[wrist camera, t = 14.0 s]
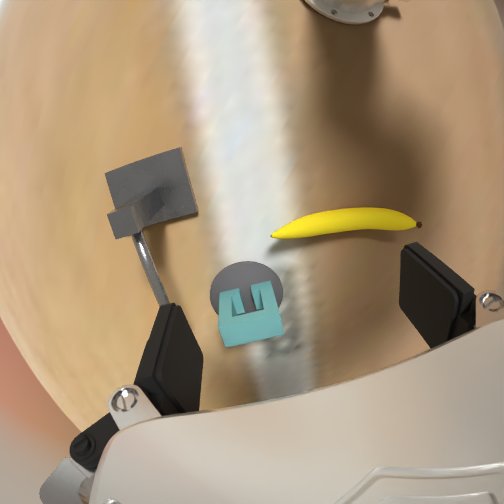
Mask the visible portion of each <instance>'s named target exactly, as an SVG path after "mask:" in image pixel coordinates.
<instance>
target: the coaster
mask: <svg viewBox="0 0 504 504" xmlns="http://www.w3.org/2000/svg"><path fill="white" fill-rule="evenodd" d="M266 281H271V285H272V288H273V291H274V295H275V298H276V302H277V305H278V308H279V306H280V304H281V302H282V298H283V288H282V284H281V282H280V279H279V278H278V276H277V275H276V273H275V272H274V271H273V270H271V269H270V268H269V267H267V266H265V265H263V264H260V263H257V262H249V261H247V262H238V263H235V264H232V265H230V266H228V267H226V268H224V269H223V270H222V271H221V272H220V273H219V274H218V275H217V276H216V277H215V279H214V281H213V283H212V285H211V290H210V300H211V304H212V306H213V308H214V310H215V312H216V313H217V314H218V315H219V298H220V292H225V291H229V290H233V289H237V288H239V290H240V293H241V296H242V300H243V303H244V306H245V313H241V314H237V316H238V315H243V314H247V313H251V312H256V311H260V310H264V308H262V309H258V310H257V309H256V305H255V302H254V298H253V295H252V291H251V285H254V284H258V283H262V282H266Z"/></svg>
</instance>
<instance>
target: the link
mask: <svg viewBox="0 0 504 504" xmlns="http://www.w3.org/2000/svg"><path fill="white" fill-rule="evenodd" d="M251 291H252V295H253V298H254V302H255V305H256V309H257V310H258V309H262V308H264V310H260V311H256V312H251V313H247V314H243V315H238V316H237V314H241V313H245V306H244V303H243V300H242V296H241V293H240V290H239V288H237V289H233V290H229V291H225V292H220V298H219V323H218V329H219V331H220V334H221V336H222V339H223V342H224V344H225V347H231V346H236V345H240V344H245V343H249V342H254V341H258V340H262V339H267V338H271V337H275V336H279V335H283V334H284V330H283V325H282V321H281V316H280V312H279V309H278V305H277V302H276V298H275V295H274V291H273V288H272V285H271V281H266V282H262V283H258V284H254V285H251Z"/></svg>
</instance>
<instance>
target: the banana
mask: <svg viewBox="0 0 504 504" xmlns="http://www.w3.org/2000/svg"><path fill="white" fill-rule="evenodd" d="M421 226H422V223H421V222H416V221H414V220H413V219H412V218H410V217H409V216H407V215H405V214H403V213H400V212H398V211H395V210H391V209H385V208H373V207H361V208H347V209H338V210H330V211H325V212H319V213H315V214H311V215H307V216H304V217H302V218H299V219H296V220H294V221H292V222H290V223H289V224H287V225H285V226H283V227H281V228H280V229H278V230H277V231H275V232H274V233H272V234H271V237H272V238H276V239H291V238H302V237H310V236H316V235H322V234H329V233H336V232H342V231H351V230H360V229H381V230H406V229H410V228H413V227H418V228H421Z"/></svg>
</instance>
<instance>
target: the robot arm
mask: <svg viewBox="0 0 504 504" xmlns="http://www.w3.org/2000/svg"><path fill="white" fill-rule="evenodd" d="M384 1H385V0H305V2H306V3H307V4H308V5H310V6H311V7H312V8H313V9H314V10H316V11H317V12H319V13H320V14H322V15H324V16H326V17H328V18H330V19H333V20H335V21H338V22H342V23H346V24H364V23H368V22H370V21H372V20H374V19H375V18H376V17H378V16H379V15H380V13H381V12H382V10H383V7H384ZM401 1H407V2H408V1H410V0H401ZM474 290H475V289H474V288H473V287H472V286H470V285H469V284H468V283H467V282H466V281H465V280H464V279H462V278H461V277H460V276H459V275H458V274H456V273H455V272H454V271H453V270H452V269H450V268H449V267H448V266H447V265H446V264H444V263H443V262H442V261H441V260H439V259H438V258H437V257H436V256H434V255H433V254H432V253H431V252H429V251H428V250H427V249H425V248H424V247H423V246H422V245H420V244H419V243H417V242H415V243H411V244H408V245H405V246H404V248H403V250H401V268H400V293H399V305H400V308H401V309H402V311H403V312H404V313H405V315H406V316H407V317H408V319H409V320H410V321H411V322H412V324H413V325H414V326H415V328H416V329H417V330H418V332H419V333H420V334H421V336H422V337H423V338H424V340H425V341H426V343H427V344H428V345H429V347H430V348H431V349H429V350H427V351H425V352H422V353H420V354H417V355H415V356H413V357H410V358H408V359H405V360H403V361H400V362H397V363H395V364H392V365H389V366H387V367H384V368H381V369H378V370H375V371H373V372H370V373H367V374H364V375H361V376H358V377H354V378H351V379H348V380H345V381H342V382H338V383H335V384H331V385H328V386H324V387H320V388H317V389H313V390H309V391H305V392H301V393H297V394H293V395H288V396H284V397H279V398H275V399H270V400H265V401H260V402H254V403H249V404H243V405H237V406H231V407H224V408H218V409H211V410H203V411H199V405H200V392H201V381H202V370H203V354H202V351H201V349H200V347H199V345H198V343H197V341H196V339H195V336H194V334H193V332H192V330H191V328H190V326H189V324H188V322H187V319H186V317H185V315H184V313H183V311H182V308H181V307H180V306H179V305H178V306H176V304H175V303H170V304H166V305H161V306H160V308H159V311H158V314H157V317H156V320H155V322H154V325H153V328H152V331H151V334H150V337H149V340H148V341H147V343H146V346H145V349H144V352H143V355H142V359H141V362H140V365H139V368H138V371H137V374H136V378H135V381H134V384H133V385H124V386H122V387H120V388H118V389H117V390H115V391H114V392H113V393H112V395H111V396H110V398H109V400H108V409H109V411H110V412H109V413H108V414H107V415H105V416H104V417H102V418H101V419H100V420H98V421H97V422H96V423H94V424H93V425H92V426H90V427H89V428H87V429H86V430H85V431H83V432H82V433H80V434H79V435H78V436H77V437H76V438H74V440H73V441H72V443H71V446H70V455H71V457H70V458H69V459H68V458H66V457H65V459H64V460H63V461H62V462H61V463H60V464H59V466H58V467H57V468H56V469H55V470H54V471H53V473H52V474H51V475H50V476H49V477H48V479H47V480H46V481H45V482H44V483H43V485H42V486H41V488H40V493H39V494H40V499H41V501H42V503H43V504H504V296H503V295H501V294H500V293H498V292H496V291H491V290H486V291H482V292H480V293H479V294H478V295H477V296H476V295H475V294H474Z"/></svg>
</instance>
